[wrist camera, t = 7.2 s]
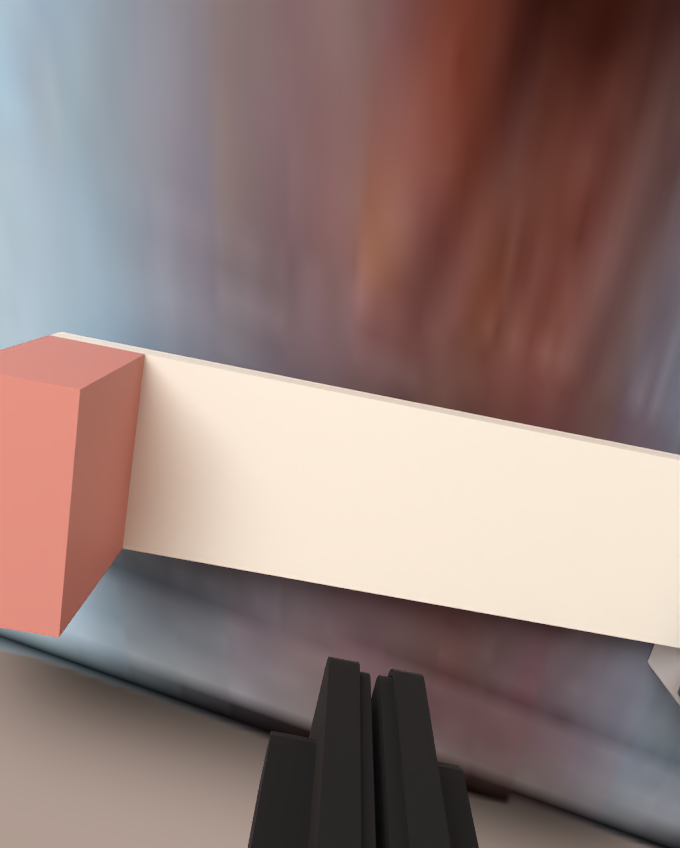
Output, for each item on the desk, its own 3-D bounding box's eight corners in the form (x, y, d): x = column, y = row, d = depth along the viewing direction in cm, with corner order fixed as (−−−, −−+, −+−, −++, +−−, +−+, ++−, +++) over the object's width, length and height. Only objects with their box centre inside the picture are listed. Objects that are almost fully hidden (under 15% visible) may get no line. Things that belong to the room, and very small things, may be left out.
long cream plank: (800, 479, 21) (965, 560, 16) (726, 645, 23) (849, 770, 18) (60, 331, 20) (-49, 364, 14) (46, 522, 22) (-55, 618, 16)
